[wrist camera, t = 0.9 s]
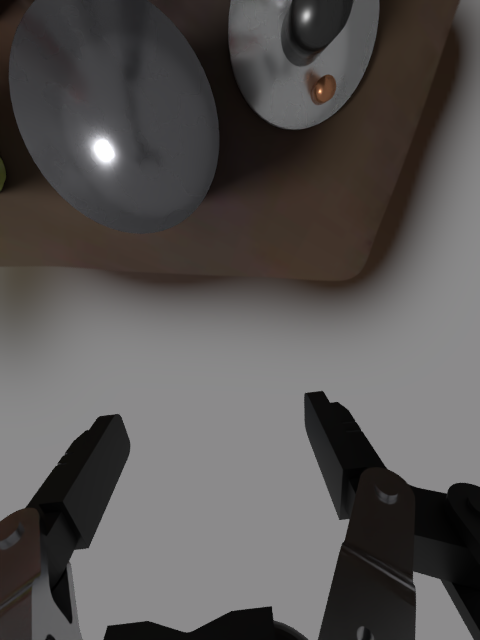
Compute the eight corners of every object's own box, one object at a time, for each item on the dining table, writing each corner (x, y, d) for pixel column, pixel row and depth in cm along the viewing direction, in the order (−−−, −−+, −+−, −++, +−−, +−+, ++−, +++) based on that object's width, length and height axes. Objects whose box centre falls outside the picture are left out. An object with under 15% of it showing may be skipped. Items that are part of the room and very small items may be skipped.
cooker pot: (62, 114, 23) (-42, 80, 14) (168, 21, 21) (127, -96, 11) (150, 232, 30) (118, 262, 20) (240, 172, 27) (252, 175, 18)
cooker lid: (199, -7, 20) (192, -67, 15) (349, -138, 18) (405, -266, 12) (267, 157, 27) (278, 155, 21) (385, 79, 24) (431, 55, 19)
